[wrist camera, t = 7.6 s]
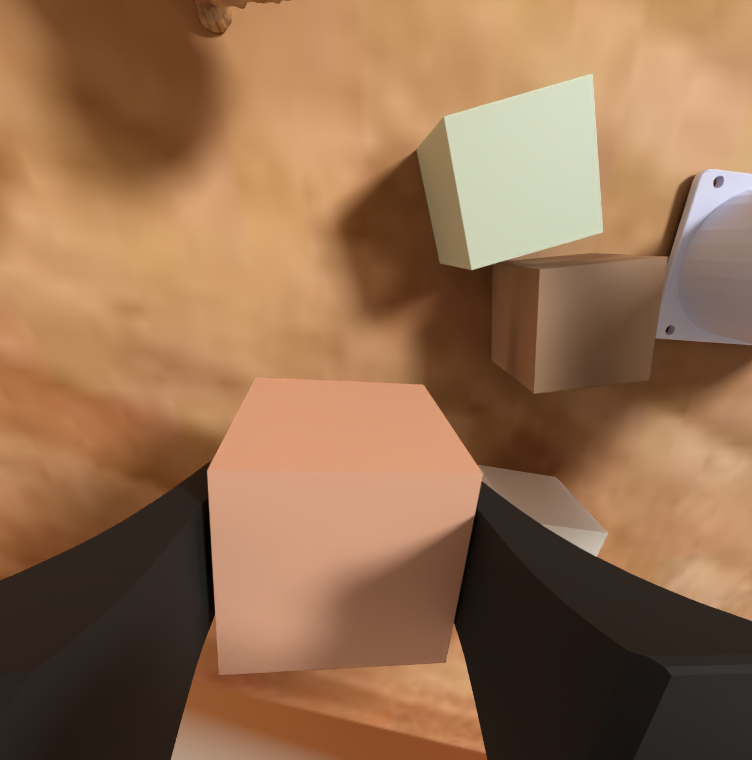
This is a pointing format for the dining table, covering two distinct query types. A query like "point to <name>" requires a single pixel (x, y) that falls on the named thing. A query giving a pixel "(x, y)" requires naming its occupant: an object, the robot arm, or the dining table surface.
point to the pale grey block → (547, 505)
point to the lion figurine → (221, 12)
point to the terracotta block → (338, 527)
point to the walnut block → (576, 319)
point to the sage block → (514, 175)
